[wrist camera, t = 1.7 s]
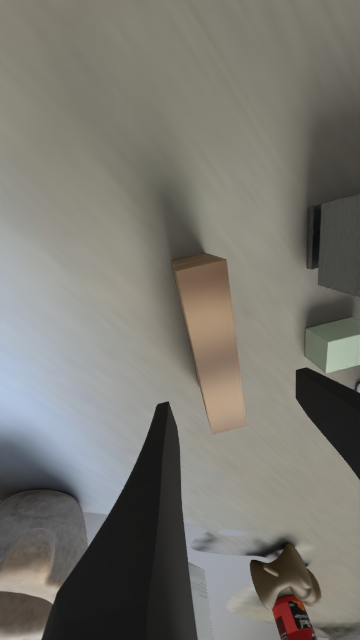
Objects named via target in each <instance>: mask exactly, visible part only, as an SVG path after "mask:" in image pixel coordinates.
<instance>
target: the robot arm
mask: <svg viewBox="0 0 360 640" xmlns="http://www.w3.org/2000/svg"><path fill="white" fill-rule="evenodd" d="M296 399H297V401H298V402H299V404H300V405H301V407H302V408H303V410H304V411H305V413H306V414H307V416H308V417H309V418H310V419H311V420H312V422H313V423H314V424H315V425H316V426H317V428H318V429H319V430H320V431H321V432H322V434H323V435H324V436H325V437H326V438H327V439H328V441H329V442H330V443H331V444H332V445H333V446H334V448H335V449H336V450H337V451H338V452H339V454H340V455H341V456H342V457H343V458H344V460H345V461H346V462H347V463H348V465H349V466H350V467H351V468H352V470H353V471H354V473H355V474H356V475H357V477H358V478H359V479H360V384H359V385H358V386H357V391H355V390H353V389H350V388H348V387H346V386H344V385H342V384H340V383H338V382H336V381H334V380H332V379H330V378H328V377H326V376H324V375H322V374H320V373H318V372H315V371H313V370H311V369H309V368H307V367H306V368H302V369H298V370H296ZM41 640H198V637H197V629H196V622H195V614H194V607H193V599H192V591H191V582H190V574H189V566H188V557H187V550H186V540H185V532H184V522H183V512H182V499H181V470H180V446H179V438H178V430H177V425H176V422H175V419H174V416H173V413H172V410H171V407H170V404H169V401H168V402H164V403H160V404H158V405H157V406H156V410H155V413H154V417H153V420H152V423H151V426H150V429H149V432H148V434H147V437H146V440H145V442H144V445H143V447H142V450H141V452H140V454H139V457H138V459H137V462H136V464H135V466H134V468H133V470H132V472H131V474H130V476H129V478H128V480H127V482H126V484H125V486H124V488H123V490H122V492H121V494H120V496H119V497H118V499H117V501H116V503H115V505H114V506H113V508H112V510H111V512H110V513H109V515H108V517H107V518H106V520H105V522H104V523H103V525H102V526H101V528H100V530H99V531H98V533H97V534H96V536H95V537H94V539H93V541H92V542H91V544H90V545H89V547H88V548H87V550H86V551H85V553H84V554H83V556H82V557H81V559H80V560H79V561H78V563H77V564H76V566H75V567H74V569H73V570H72V571H71V573H70V574H69V576H68V577H67V579H66V580H65V582H64V583H63V584H62V586H61V587H60V589H59V590H58V592H57V594H56V597H55V600H54V603H53V605H52V608H51V610H50V613H49V616H48V619H47V622H46V625H45V629H44V632H43V636H42V639H41Z"/></svg>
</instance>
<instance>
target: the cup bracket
mask: <svg viewBox="0 0 360 640" xmlns="http://www.w3.org/2000/svg"><path fill="white" fill-rule="evenodd" d="M307 268H308V269H315V268H318V285H320V286H324V287H327V288H331V289H334V290H338V291H341V292H344V293H348V294H351V295H355V296H358V297H360V194H357V195H353V196H349V197H345V198H341V199H337V200H333V201H329V202H325V203H322V204H320V205H316V206H312V207H309V209H308V250H307Z"/></svg>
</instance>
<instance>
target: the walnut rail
mask: <svg viewBox="0 0 360 640" xmlns="http://www.w3.org/2000/svg"><path fill="white" fill-rule="evenodd" d="M171 263H172V267H173V272H174V276H175V281H176V285H177V289H178V294H179V298H180V303H181V307H182V311H183V316H184V320H185V324H186V329H187V333H188V338H189V342H190V346H191V351H192V355H193V360H194V364H195V368H196V373H197V377H198V381H199V386H200V390H201V394H202V397H203V401H204V405H205V409H206V413H207V417H208V420H209V424H210V428H211V432H212V434H216V433H220V432H224V431H229V430H233V429H237V428H241V427H246V419H245V410H244V402H243V394H242V386H241V377H240V369H239V361H238V352H237V344H236V336H235V328H234V319H233V311H232V303H231V295H230V286H229V278H228V270H227V261H226V259H223V258H220V257H217V256H214V255H211V254H207V253H203V254H199V255H194V256H190V257H186V258H182V259H177V260H173V261H171Z"/></svg>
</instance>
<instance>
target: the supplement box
mask: <svg viewBox="0 0 360 640" xmlns="http://www.w3.org/2000/svg"><path fill="white" fill-rule="evenodd" d="M188 566H189V574H190V582H191V591H192V599H193V607H194V614H195V622H196V629H197V637H198V640H214V638H213V631H212V623H211V615H210V607H209V600H208V592H207V584H206V577H205V570H203V569H201V568H199V567H197V566H195V565H193V564H191V563H188Z"/></svg>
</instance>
